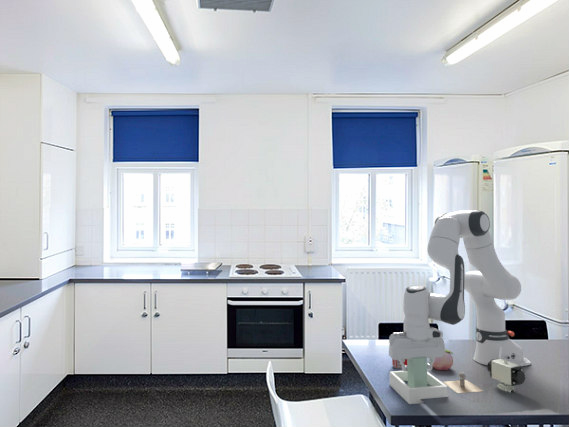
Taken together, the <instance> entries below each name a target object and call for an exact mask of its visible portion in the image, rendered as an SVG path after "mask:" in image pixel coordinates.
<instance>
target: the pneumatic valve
mask: <svg viewBox="0 0 569 427" xmlns="http://www.w3.org/2000/svg"><path fill="white" fill-rule="evenodd" d="M522 367H523V366H519V365H517V364H514V363H511V362H510V361H509V362H508V361H507V360H502V359H500V358H498V359H493V360H490V361H489V363H488V365H486V368H487V371H488V372H489V376H490V378H492V379H495V380H497V381H499V383H498V384H497V386H496V387H497V388H498V389H499V390H501V391H503V392H505V393H509V394H511V393H512V392H514V393H515V392H516V390H515V389H514V387H516V386H519V385H522V384H524V383H525V380H526V373H525V372H524V371H523V369H522Z"/></svg>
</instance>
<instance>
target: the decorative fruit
mask: <svg viewBox="0 0 569 427" xmlns="http://www.w3.org/2000/svg"><path fill="white" fill-rule="evenodd" d="M452 355H454V353H453V352H452V351H451V350H449V349H446V348H445V354H444V356H443V357H435V362H434V363H433V365H432V368H433V369H434V370H437V371H447V370H450V369H451V368H452V366H453V365H454V357H453V356H452Z"/></svg>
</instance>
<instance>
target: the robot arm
mask: <svg viewBox="0 0 569 427" xmlns="http://www.w3.org/2000/svg"><path fill="white" fill-rule="evenodd" d="M490 223H491V221H490V218H489V216H488V214H487V213H485V212H484V211H483V210H475V209H474V210H458V211H453V212H449V213H448V212H446V213H442V214H439V215H438V216H437V217H436V219H435V221H434V225H433V228H432V231H431V233H430V236H429V240H428V244H427V250H426V252H427V256H429V259H431V260H432V261H433V262H434V263H435V264H437V265H439V266H440V267H443V268H445V269H446V270H448V271H449V275H450V276H449V292H448V293H447V294H440V293H436V292H435V293H434V292H431V291H428V289H427V287H426V286H423V285H419V284H417V285H410V286H408V287H406V288H405V290H404V295H403V304H402V305H403V310H402V311H403V313H404V314H403V315H404V319H403V331H402V332H401V331H400V332H392V334H390V335H389V337H388V338H389V339H388V342H389V343H388V344H389V348H388V356H389V357H390V358H391V360H392V359H394V360H399V362H400V364H401V365H402V369H401V371H404V372H405V371H408V367H407V366H406V365H404V363H403V362H405V359H413V358H424V357H426V358H427V359H429V361H427V371H432V370H433V366H432V365H433V363H434V362H435V357H443V356H444V354H445V349H446V346H445V340H444V338H443V336H444V334H443V331H441V330H439V329H438V328H435V327H433V326H430V321H429V320H432V321H433V320H434V321H438V322H442V323H446V324H448V325H452V326H454V325H457V324H459V323H460V322H462V321H463V320H464V319H465V315H466V304H465V291H466V292H467V293H468V295H469V296H470V298H471V299H472V302H473V305H474V308H475V314H476V327H475V338H476V342H475V350H474V351H475V352H474V355H473V358H472V359H473V360H474V361H475V362H476V363H478V364H481V365H485V366H487V365H488V363H489V361H490V360H493V359H498V358H500V359H502V360H507V361H508V362H509V361H510V362H511V363H514V364H517V365H519V366H522V367H525V366H530V365H532V363H531V361H530V360H529V359H528V358H526V357H525V355H524V354H525V353H524V351H523V348H522V347H521V346H520V345H519V344H518V343H516V342H515V341H513V340H512V339H510V337H514V336H515V332H514V331H511V330H507V329H506V314H505V311H504V310H503V309H502V308H501V307H500V306H499V305H498V304H497V301H496V299H497V300H504V301H505V300H516V299H517V298H518V297H519V296H520V295H521V291H522V283H521V282H520V280H519V279H518V278H517V277H516V276H514V275H512V274H511V273H510V272H509V270H507V269H506V268H505V266H504V265H503V263H501V261H500V259H499V257H498V255H497V252H496V249H495V245H494V243H493V239H492V235H491V233H490V231H489V230H490V226H491V224H490ZM460 239H462V240H463V245H464V248H465V251H466V256H467V258H468V262H469V263H470V265H471V266H472V267H474V268H475V269H476V270H469V271H467V272H465V271H466V270H465V262H464V259H463V257H462V256H461V255H460V254H459V246H460Z"/></svg>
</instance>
